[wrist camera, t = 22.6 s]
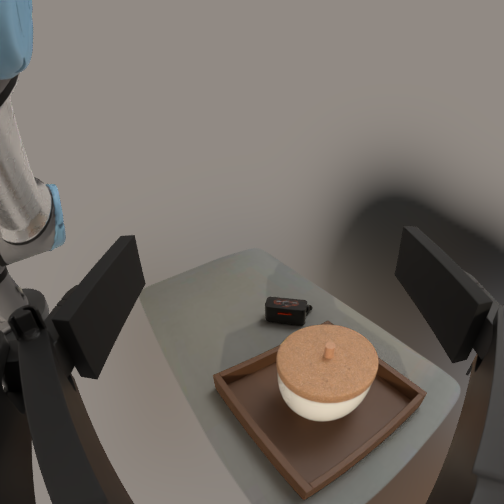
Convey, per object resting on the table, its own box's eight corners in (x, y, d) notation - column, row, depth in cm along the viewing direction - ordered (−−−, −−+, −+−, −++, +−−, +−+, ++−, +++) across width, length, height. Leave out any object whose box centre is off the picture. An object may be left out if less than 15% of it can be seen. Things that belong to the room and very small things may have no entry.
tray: (303, 500, 21) (306, 493, 20) (215, 388, 36) (212, 374, 35) (419, 405, 30) (427, 392, 29) (326, 334, 44) (327, 320, 43)
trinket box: (308, 452, 26) (319, 406, 22) (259, 389, 35) (256, 334, 31) (381, 406, 30) (403, 352, 26) (328, 356, 39) (336, 301, 35)
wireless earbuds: (309, 327, 46) (310, 311, 45) (264, 322, 48) (264, 306, 46) (312, 310, 50) (313, 294, 49) (270, 305, 52) (270, 290, 50)
